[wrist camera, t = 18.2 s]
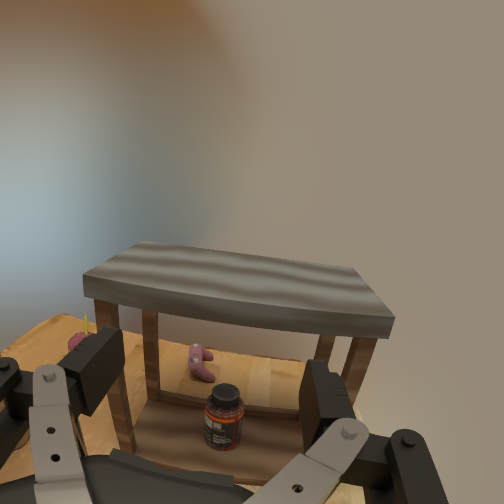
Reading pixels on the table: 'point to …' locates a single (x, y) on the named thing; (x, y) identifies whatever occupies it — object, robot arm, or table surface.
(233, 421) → the supplement bottle
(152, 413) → the under-counter shelf
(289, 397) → the table surface
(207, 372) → the video game controller
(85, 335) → the cupcake
